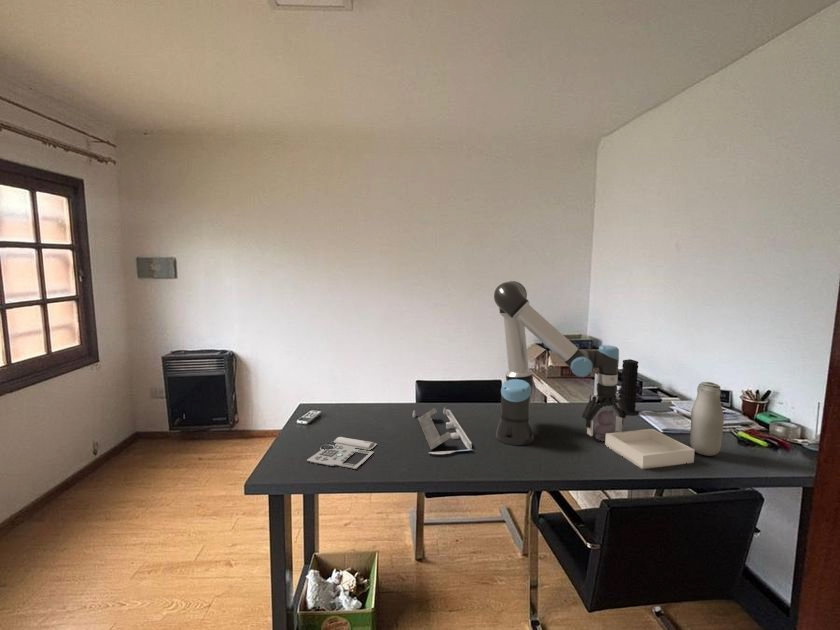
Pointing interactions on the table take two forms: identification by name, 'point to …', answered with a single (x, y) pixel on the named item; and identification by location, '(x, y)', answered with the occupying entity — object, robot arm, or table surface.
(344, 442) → the office telephone
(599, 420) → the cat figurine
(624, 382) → the handle grip
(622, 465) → the table surface
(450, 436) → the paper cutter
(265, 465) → the table surface
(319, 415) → the table surface
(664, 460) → the tray
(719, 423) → the beige milk bottle
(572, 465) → the table surface
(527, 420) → the robot arm
